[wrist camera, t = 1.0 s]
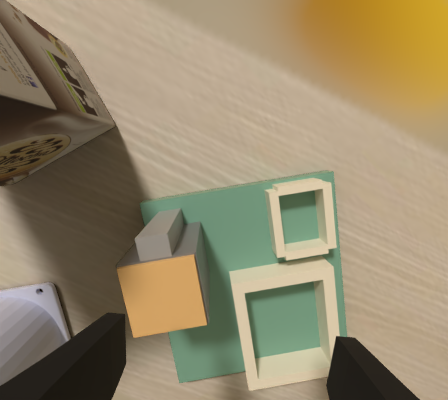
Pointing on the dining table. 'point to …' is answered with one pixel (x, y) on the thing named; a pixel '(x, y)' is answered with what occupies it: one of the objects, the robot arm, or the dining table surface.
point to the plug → (166, 276)
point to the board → (264, 280)
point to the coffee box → (41, 98)
